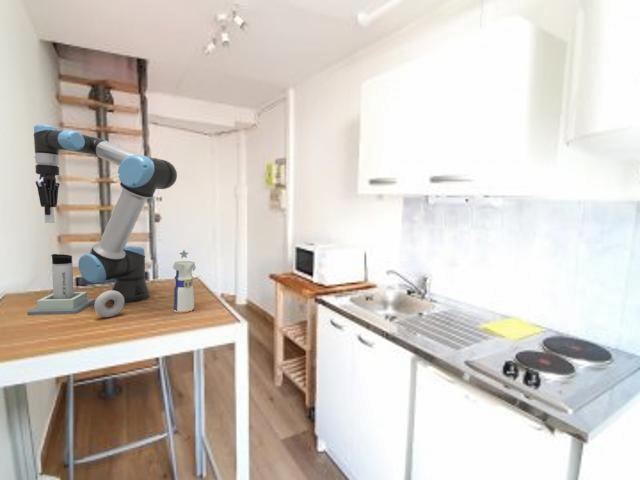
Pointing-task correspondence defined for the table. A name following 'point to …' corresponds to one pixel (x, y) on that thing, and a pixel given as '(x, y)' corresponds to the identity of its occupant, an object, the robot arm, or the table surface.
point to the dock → (62, 304)
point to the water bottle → (184, 284)
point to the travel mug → (62, 276)
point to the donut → (104, 298)
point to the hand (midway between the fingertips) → (49, 222)
